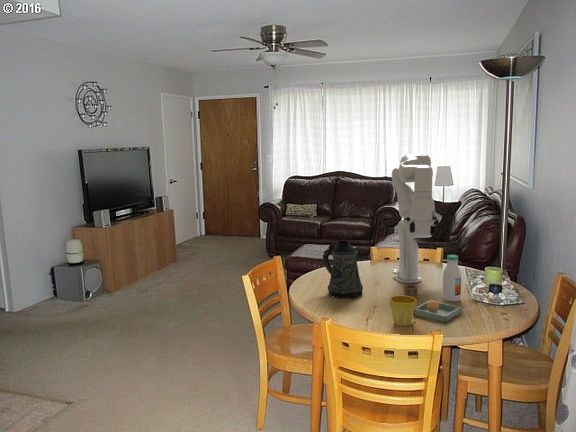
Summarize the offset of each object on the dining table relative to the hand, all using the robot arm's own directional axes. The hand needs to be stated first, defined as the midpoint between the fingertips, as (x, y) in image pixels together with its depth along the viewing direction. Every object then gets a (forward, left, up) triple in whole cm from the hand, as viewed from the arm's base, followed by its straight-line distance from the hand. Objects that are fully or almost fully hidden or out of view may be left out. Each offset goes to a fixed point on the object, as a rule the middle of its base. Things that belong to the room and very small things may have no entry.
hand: (422, 233), depth 212 cm
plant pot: (+8, -30, -31) cm, 44 cm away
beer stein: (-33, -15, -31) cm, 47 cm away
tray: (+14, -13, -30) cm, 36 cm away
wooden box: (-2, -6, -30) cm, 31 cm away
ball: (+12, -13, -27) cm, 33 cm away
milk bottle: (+10, +9, -31) cm, 33 cm away
